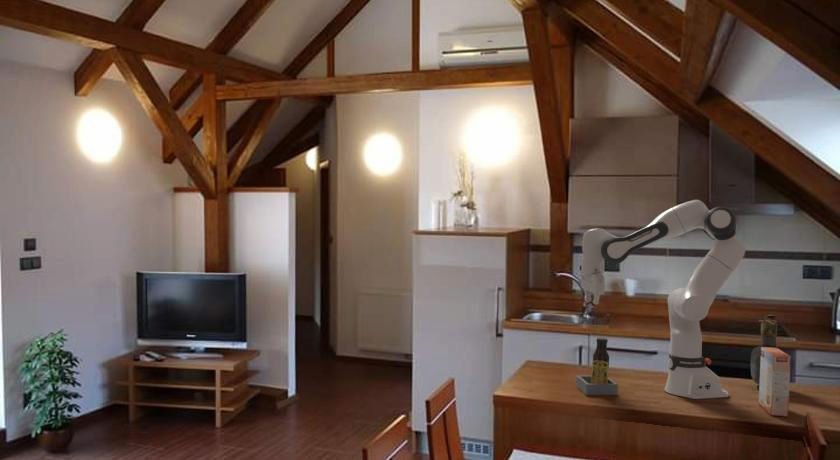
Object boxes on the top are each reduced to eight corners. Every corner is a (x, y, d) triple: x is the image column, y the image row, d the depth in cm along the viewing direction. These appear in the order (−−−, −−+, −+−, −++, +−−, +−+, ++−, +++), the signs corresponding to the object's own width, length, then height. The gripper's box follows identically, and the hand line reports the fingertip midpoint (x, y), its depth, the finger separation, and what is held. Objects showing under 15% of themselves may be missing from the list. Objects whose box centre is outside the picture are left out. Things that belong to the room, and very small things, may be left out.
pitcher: (755, 393, 256) (758, 314, 255) (746, 381, 274) (749, 307, 273) (787, 396, 253) (790, 316, 252) (776, 383, 271) (779, 309, 270)
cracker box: (789, 417, 227) (791, 355, 226) (770, 416, 228) (772, 354, 228) (776, 405, 241) (778, 347, 240) (758, 404, 242) (760, 346, 241)
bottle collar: (606, 385, 264) (606, 375, 264) (617, 395, 251) (617, 384, 251) (576, 385, 263) (576, 375, 263) (586, 395, 250) (586, 384, 250)
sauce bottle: (589, 391, 256) (590, 339, 255) (591, 387, 262) (592, 336, 261) (607, 393, 253) (608, 340, 253) (609, 389, 259) (610, 337, 258)
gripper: (609, 270, 263) (608, 306, 263) (592, 266, 283) (592, 299, 283) (593, 270, 262) (592, 306, 263) (578, 266, 283) (577, 299, 283)
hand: (592, 302), depth 273 cm, fingers open, 8 cm apart
